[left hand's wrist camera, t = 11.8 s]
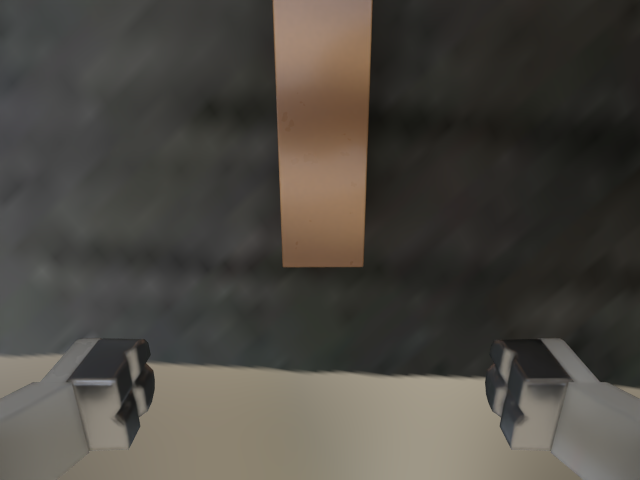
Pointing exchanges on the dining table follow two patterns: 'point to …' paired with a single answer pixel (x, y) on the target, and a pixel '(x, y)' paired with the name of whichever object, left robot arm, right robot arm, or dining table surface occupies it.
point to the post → (322, 128)
